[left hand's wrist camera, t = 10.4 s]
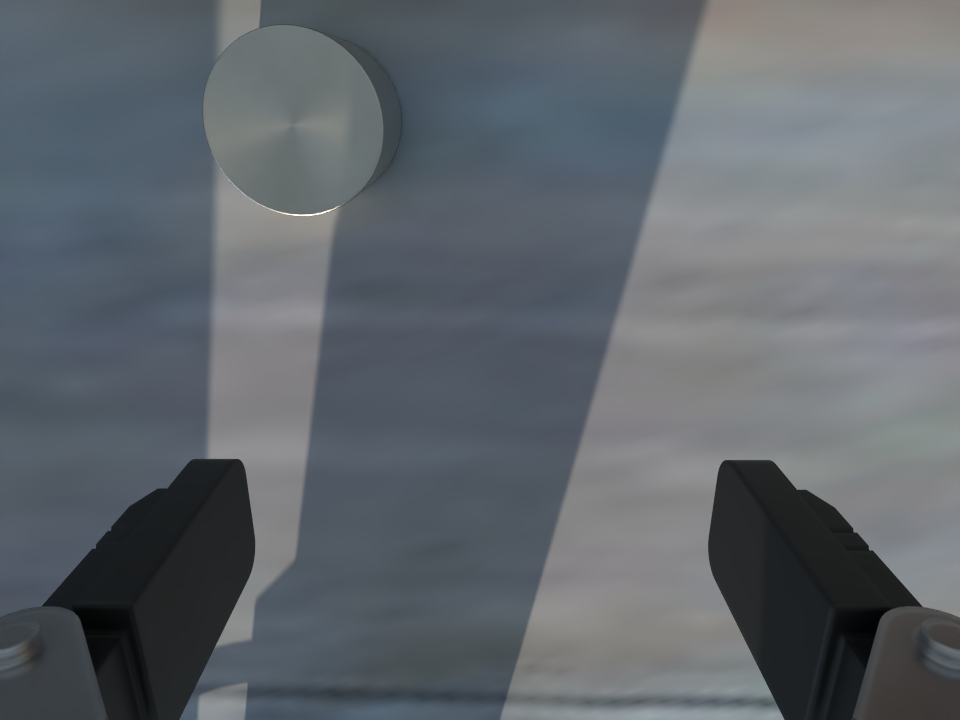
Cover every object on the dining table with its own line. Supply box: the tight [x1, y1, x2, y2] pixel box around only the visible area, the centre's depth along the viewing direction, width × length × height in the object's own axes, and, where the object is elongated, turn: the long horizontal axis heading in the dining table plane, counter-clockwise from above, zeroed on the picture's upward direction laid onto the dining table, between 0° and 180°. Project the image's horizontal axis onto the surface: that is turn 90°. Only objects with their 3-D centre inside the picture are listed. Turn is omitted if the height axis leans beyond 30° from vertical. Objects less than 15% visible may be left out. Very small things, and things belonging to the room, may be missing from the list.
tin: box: [202, 24, 402, 216], centre depth 19 cm, size 5×5×4 cm
